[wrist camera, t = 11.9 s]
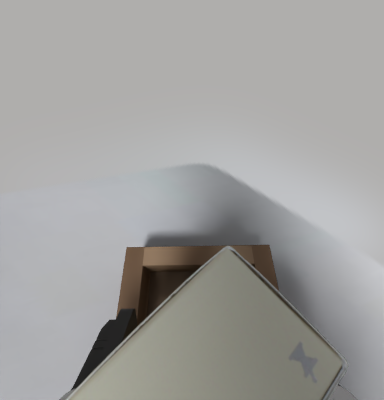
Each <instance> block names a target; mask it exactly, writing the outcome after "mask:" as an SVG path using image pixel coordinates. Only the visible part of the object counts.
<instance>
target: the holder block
mask: <svg viewBox="0 0 384 400" xmlns="http://www.w3.org/2000/svg"><path fill="white" fill-rule="evenodd" d="M224 247H226V246H178V247H127V249H126V256H125V263H124V269H123V276H122V283H121V290H120V296H119V303H118V310H117V316H118V313H119V311H120V310H121V309H130V308H135V310H136V317H137V325H139V324H141V323H142V322H143V321H144V320H145V319H146V318H147V317H148V316H149V315H150V314H151V313H152V312H153V311H154V310H155V309H156V308H157V307H158V306H159V305H160V304H161V303H162V302H163V301H164V300H165V299H166V298H167V297H168V296H169V295H171V294H172V293H173V292H174V291H175V290H176V289H177V288H178V287H179V286H180V285H181V284H182V283H183V282H184V281H186V280H187V279H188V278H189V277H190V276H191V275H192V274H193V273H194V272H196V271H197V270H198V269H199V268H200V267H201V266H202V265H204V264H205V263H206V262H207V261H208V260H209V259H211V258H212V257H213V256H214V255H215V254H217V253H218V252H219V251H220V250H221V249H222V248H224ZM231 247H232V248H234V249H235V250H236V251H237V252H238V253H239V254H240V255H241V256H242V257H243V258H244V259H246V260H247V261H248V262H249V263H250V264H251V265H252V266H253V267H254V268H255V269H257V270H258V271H259V272H260V273H261V274H262V275H263V276H264V277H265V278H266V279H267V280H268V281H269V282H270V283H271V284H272V285H273V286H274V287H275V288H276V289H277V290H278V291H279V289H278V284H277V279H276V275H275V270H274V265H273V260H272V255H271V251H270V246H269V245H233V246H231ZM117 316H116V318H117Z"/></svg>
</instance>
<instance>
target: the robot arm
mask: <svg viewBox="0 0 384 400" xmlns="http://www.w3.org/2000/svg"><path fill="white" fill-rule="evenodd" d="M137 326H138V325H137V317H136V310H135V308H130V309H121V310H120V311H119V313H118V316H117V318H116V320H109V321H108V322H107V323H106V324H105V326H104V327H103V328H102V329H101V331H100V333H99V335H98V337H97V340H96V341H95V343H94V345H93V347H92V350H91V351H90V353H89V355H88V358H87V360H86V362H85V364H84V366H83V368H82V370H81V372H80V374H79V376H78V378H77V380H76V382H75V384H74V386H73V388H72V389H71V391H69V392H68V393H66V394H65V395H64V396H63V397H62V398H61V399H60V400H65V399H66V398H67V397H68V396H69V395H70V394H71V393H72V392H73V391H74V390H75V389H76V388H77V387H78V386H79V385H80V384H81V383H82V382H83V381H84V380H85V379H86V378H87V377H88V376H89V375H90V374H91V373H92V372H93V370H94V369H95V368H97V367H98V366H99V365H100V364H101V363H102V362H103V361H104V360H105V359H106V357H107V356H108V355H109V354H110V353H111V352H112V351H113V350H114V349H115V348H116V347H117V346H118V345H119V344H120V343H121V342H122V341H123V340H124V339H125V338H126V337H127V336H128V335H129V334H130V333H131V332H132V331H133V330H134V329H135V328H136V327H137ZM329 400H357V399H356V398H355V397H354V396H353V395H352V394H351V393H350V392H349V391H347V390H346V389H344V388H342V387H341V386H340V385H339V384H338V385H337V387H336V389H335V391H334V392H333V394H332V396H331V398H330V399H329Z"/></svg>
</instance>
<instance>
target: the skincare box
mask: <svg viewBox="0 0 384 400" xmlns="http://www.w3.org/2000/svg"><path fill="white" fill-rule="evenodd" d="M347 368H348V363H347V361H346V359H345V358H344V357H343V356H342V355H341V354H340V353H339V352H338V351H337V350H336V349H335V348H334V347H333V346H332V345H331V344H330V343H329V342H328V341H327V340H326V339H325V338H324V337H323V336H322V335H321V333H320V332H319V331H318V330H317V329H316V328H315V327H314V326H313V325H312V324H311V323H310V322H309V321H308V320H307V319H306V318H305V317H304V316H303V315H302V314H301V313H300V312H299V311H298V310H297V309H296V308H295V307H294V306H293V305H292V304H291V303H290V302H289V301H288V300H287V299H286V298H285V297H284V296H283V295H282V294H281V293H280V292H279V291H278V290H277V289H276V288H275V287H274V286H273V285H272V284H271V283H270V282H269V281H268V280H267V279H266V278H265V277H264V276H263V275H262V274H261V273H260V272H259V271H258V270H257V269H255V268H254V267H253V266H252V265H251V264H250V263H249V262H248V261H247V260H246V259H244V258H243V257H242V256H241V255H240V254H239V253H238V252H237V251H236V250H235V249H234V248H232V247H231V246H226V247H224V248H222V249H221V250H220V251H219V252H218V253H217V254H215V255H214V256H213V257H212V258H211V259H209V260H208V261H207V262H206V263H205V264H204V265H202V266H201V267H200V268H199V269H198V270H197V271H196V272H194V273H193V274H192V275H191V276H190V277H189V278H188V279H187V280H186V281H184V282H183V283H182V284H181V285H180V286H179V287H178V288H177V289H176V290H175V291H174V292H173V293H172V294H171V295H169V296H168V297H167V298H166V299H165V300H164V301H163V302H162V303H161V304H160V305H159V306H158V307H157V308H156V309H155V310H154V311H153V312H152V313H151V314H150V315H149V316H148V317H147V318H146V319H145V320H144V321H143V322H142V323H141V324H139V325H138V326H137V327H136V328H135V329H134V330H133V331H132V332H131V333H130V334H129V335H128V336H127V337H126V338H125V339H124V340H123V341H122V342H121V343H120V344H119V345H118V346H117V347H116V348H115V349H114V350H113V351H112V352H111V353H110V354H109V355H108V356H107V357H106V359H105V360H104V361H103V362H102V363H101V364H100V365H99V366H98V367H97V368H95V369H94V370H93V372H92V373H91V374H90V375H89V376H88V377H87V378H86V379H85V380H84V381H83V382H82V383H81V384H80V385H79V386H78V387H77V388H76V389H75V390H74V391H73V392H72V393H71V394H70V395H69V396H68V397H67V398H66V399H65V400H329V399H330V398H331V396H332V394H333V392H334V391H335V389H336V387H337V385H338V384H339V382H340V380H341V378H342V377H343V376H344V374H345V373H346V371H347Z"/></svg>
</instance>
